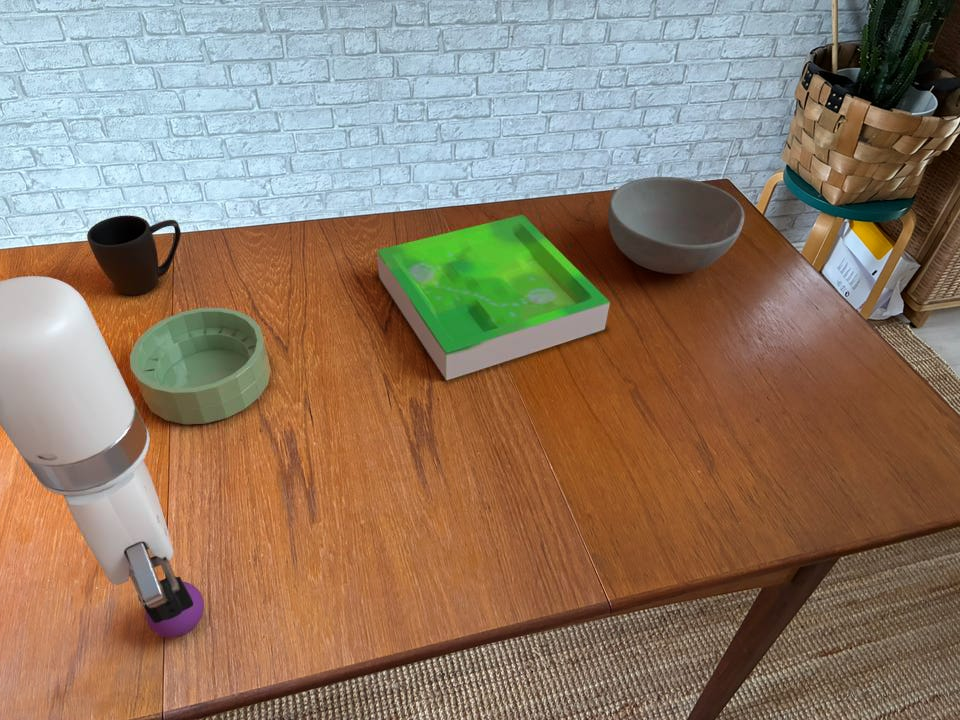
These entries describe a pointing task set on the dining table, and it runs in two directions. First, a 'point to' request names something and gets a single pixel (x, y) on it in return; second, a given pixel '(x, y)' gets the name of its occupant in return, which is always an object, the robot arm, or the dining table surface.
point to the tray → (489, 294)
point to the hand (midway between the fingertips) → (159, 566)
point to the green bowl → (201, 365)
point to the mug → (130, 252)
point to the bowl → (673, 223)
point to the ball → (180, 617)
